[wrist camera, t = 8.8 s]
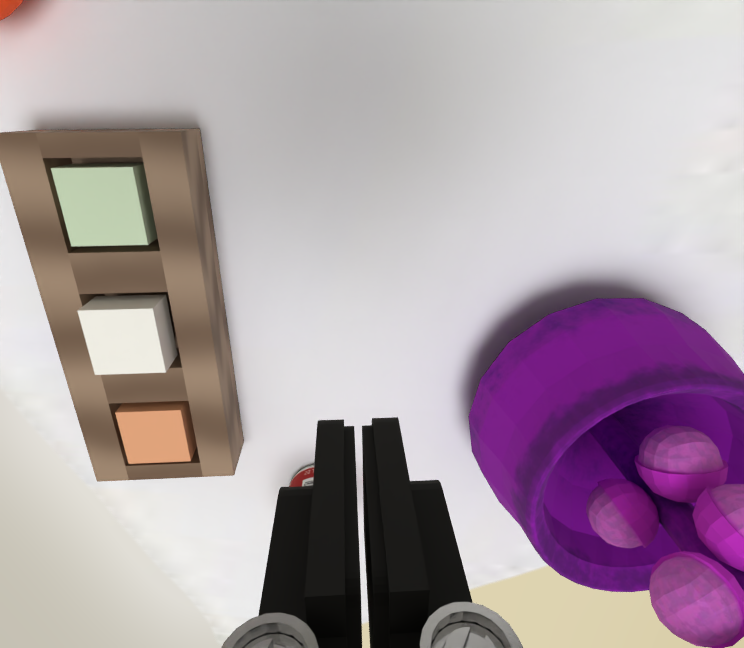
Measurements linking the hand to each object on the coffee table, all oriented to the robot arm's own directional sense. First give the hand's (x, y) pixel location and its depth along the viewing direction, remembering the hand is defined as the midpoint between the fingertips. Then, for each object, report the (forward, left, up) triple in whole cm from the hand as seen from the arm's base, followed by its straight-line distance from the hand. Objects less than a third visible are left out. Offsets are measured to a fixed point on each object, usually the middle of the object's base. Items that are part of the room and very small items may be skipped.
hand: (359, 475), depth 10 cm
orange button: (+14, -14, -23) cm, 30 cm away
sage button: (-2, -14, -23) cm, 27 cm away
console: (+6, -14, -25) cm, 29 cm away
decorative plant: (+14, +18, -25) cm, 34 cm away
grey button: (+6, -14, -22) cm, 27 cm away
